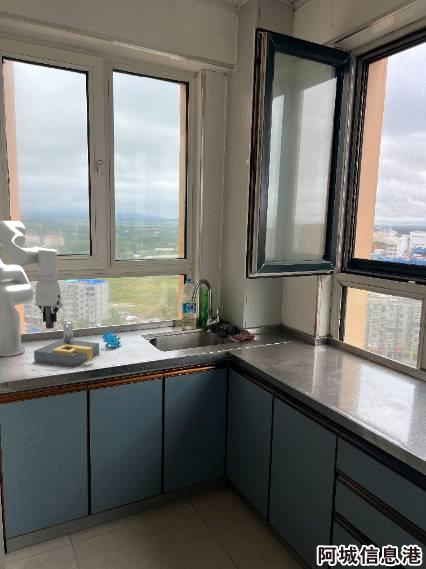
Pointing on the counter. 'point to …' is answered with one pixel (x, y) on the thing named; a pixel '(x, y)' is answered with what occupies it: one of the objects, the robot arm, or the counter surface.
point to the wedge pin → (48, 317)
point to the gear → (111, 340)
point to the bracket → (75, 350)
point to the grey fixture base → (64, 359)
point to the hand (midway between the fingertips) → (49, 321)
